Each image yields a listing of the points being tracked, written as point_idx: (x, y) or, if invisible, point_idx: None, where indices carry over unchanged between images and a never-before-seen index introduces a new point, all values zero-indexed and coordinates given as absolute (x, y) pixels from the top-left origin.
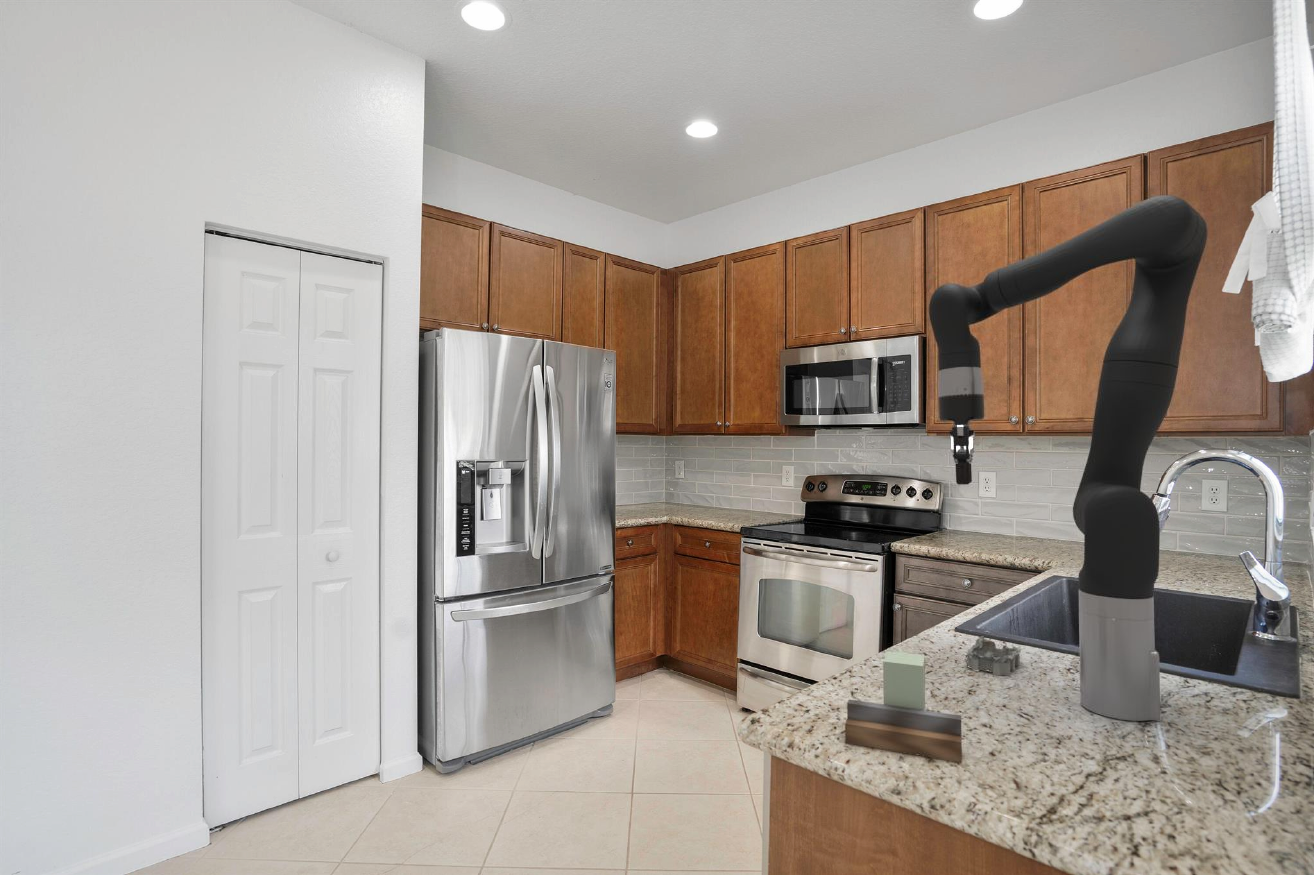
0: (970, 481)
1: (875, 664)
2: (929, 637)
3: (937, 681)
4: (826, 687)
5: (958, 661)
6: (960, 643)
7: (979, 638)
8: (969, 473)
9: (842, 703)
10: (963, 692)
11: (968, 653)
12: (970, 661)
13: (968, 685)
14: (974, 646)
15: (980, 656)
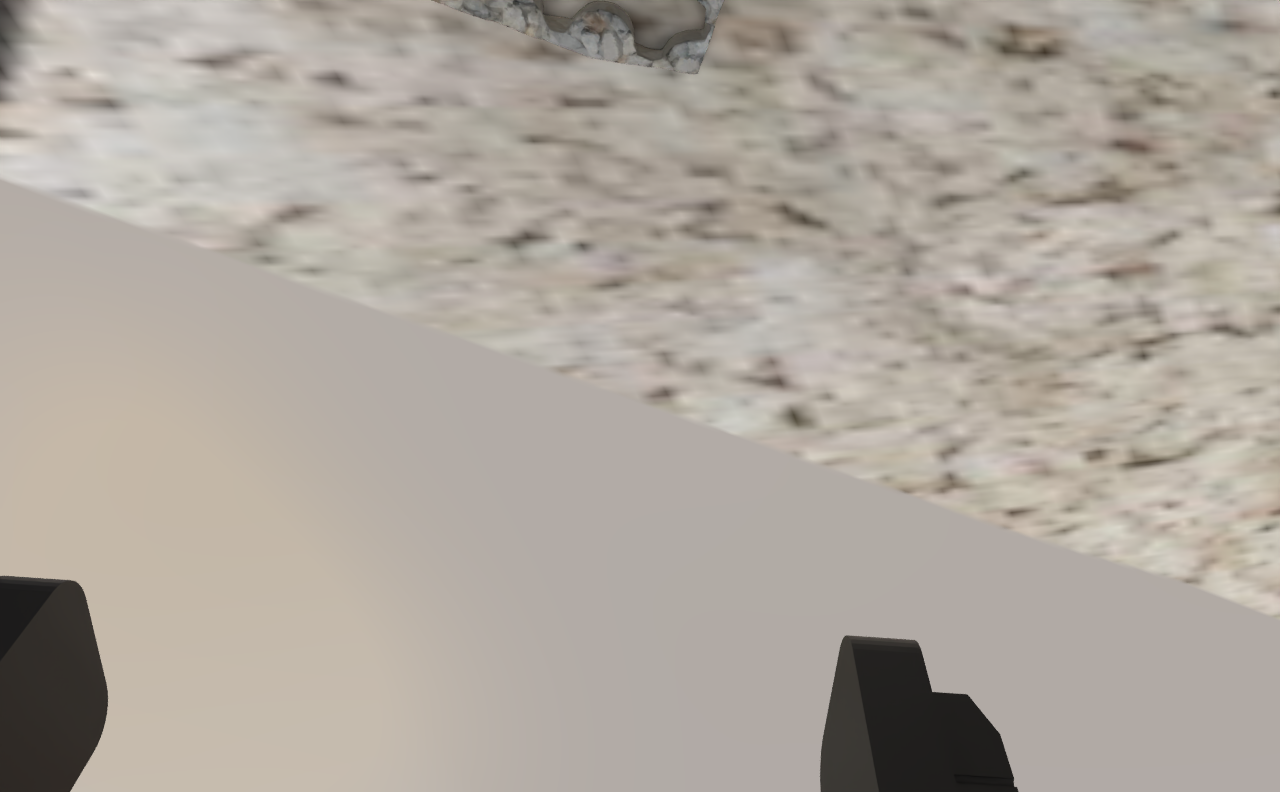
0: (65, 596)
1: (770, 419)
2: (212, 226)
3: (922, 180)
4: (1104, 542)
5: (583, 90)
6: (243, 76)
7: (447, 1)
8: (949, 767)
9: (1260, 479)
10: (1041, 76)
11: (630, 56)
12: (671, 43)
13: (940, 53)
14: (540, 27)
15: (718, 3)
